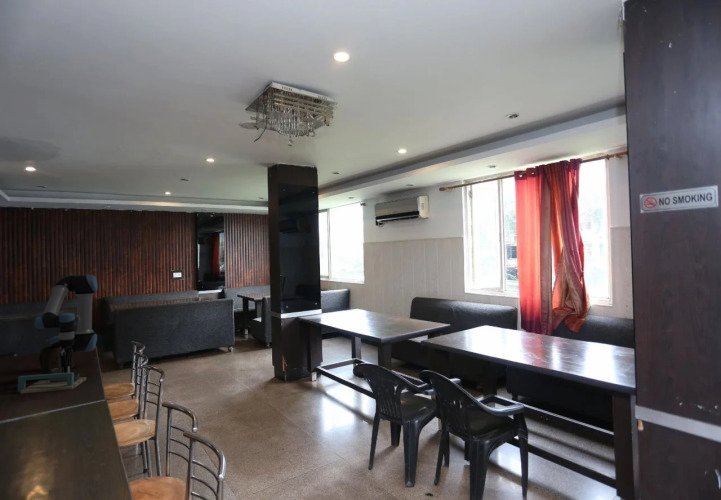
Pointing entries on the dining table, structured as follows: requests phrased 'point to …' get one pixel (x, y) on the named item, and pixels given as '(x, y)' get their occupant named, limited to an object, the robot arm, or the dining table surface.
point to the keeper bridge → (44, 376)
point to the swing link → (64, 378)
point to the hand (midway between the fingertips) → (66, 377)
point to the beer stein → (50, 360)
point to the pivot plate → (51, 385)
